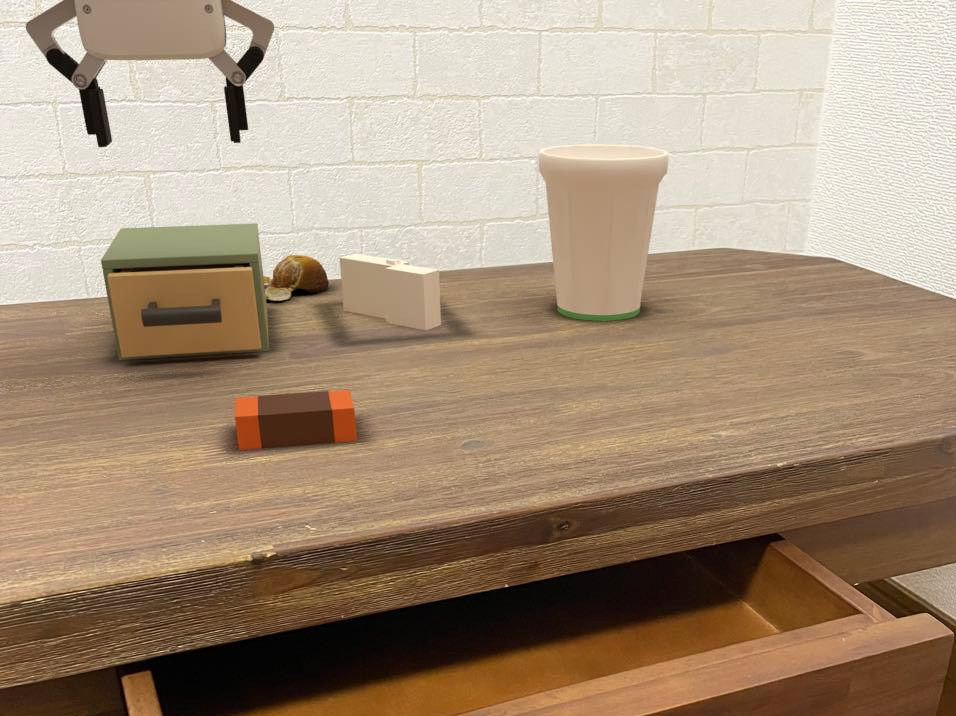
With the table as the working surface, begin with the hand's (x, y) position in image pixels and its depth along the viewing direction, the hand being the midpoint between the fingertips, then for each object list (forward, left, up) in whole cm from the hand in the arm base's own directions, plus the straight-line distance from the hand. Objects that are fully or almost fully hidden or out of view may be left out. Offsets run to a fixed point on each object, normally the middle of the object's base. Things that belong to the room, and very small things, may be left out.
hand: (171, 143), depth 80 cm
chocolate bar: (+7, -18, -18) cm, 27 cm away
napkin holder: (+17, +12, -18) cm, 27 cm away
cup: (+38, +11, -18) cm, 44 cm away
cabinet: (-1, +11, -18) cm, 21 cm away
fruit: (+7, +26, -18) cm, 32 cm away
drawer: (-1, +5, -17) cm, 18 cm away
